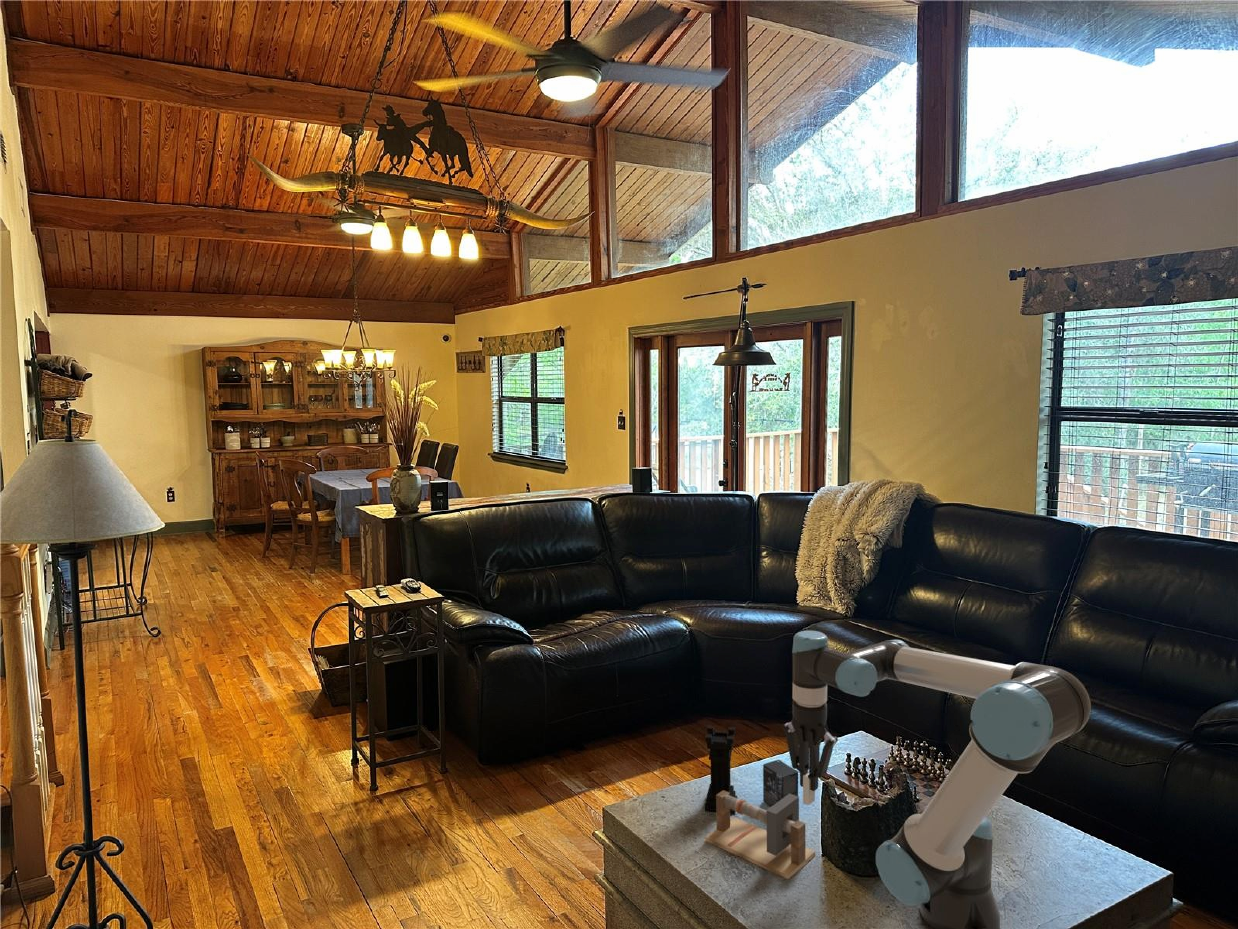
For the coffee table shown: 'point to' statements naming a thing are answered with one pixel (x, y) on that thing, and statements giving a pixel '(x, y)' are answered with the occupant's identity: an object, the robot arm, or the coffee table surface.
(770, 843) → the ring
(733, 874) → the coffee table surface
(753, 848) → the pipe rig
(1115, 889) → the coffee table surface
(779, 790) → the box
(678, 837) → the coffee table surface
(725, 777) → the chess piece
